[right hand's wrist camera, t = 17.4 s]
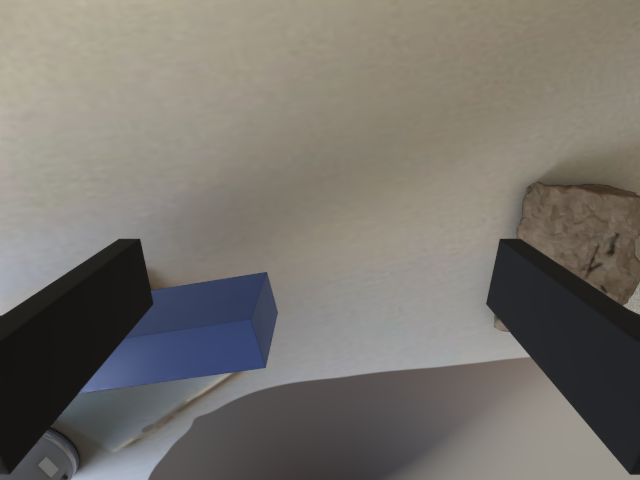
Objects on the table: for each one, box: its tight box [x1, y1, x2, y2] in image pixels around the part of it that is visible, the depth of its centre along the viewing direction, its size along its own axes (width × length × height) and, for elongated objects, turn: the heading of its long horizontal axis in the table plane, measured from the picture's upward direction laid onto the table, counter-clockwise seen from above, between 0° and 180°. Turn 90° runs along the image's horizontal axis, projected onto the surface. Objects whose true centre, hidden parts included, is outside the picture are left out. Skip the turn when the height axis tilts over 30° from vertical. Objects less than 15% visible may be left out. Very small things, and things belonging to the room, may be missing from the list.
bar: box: [78, 272, 278, 394], centre depth 35 cm, size 30×5×9 cm, turn 100°
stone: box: [494, 182, 640, 332], centre depth 44 cm, size 21×15×6 cm
